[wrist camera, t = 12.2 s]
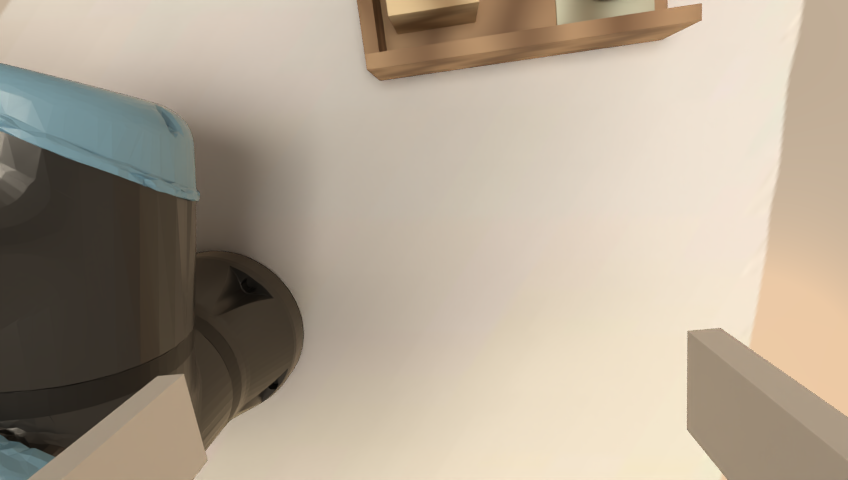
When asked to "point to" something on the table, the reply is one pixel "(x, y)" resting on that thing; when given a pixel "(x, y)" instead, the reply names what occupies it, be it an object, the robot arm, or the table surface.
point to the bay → (504, 30)
